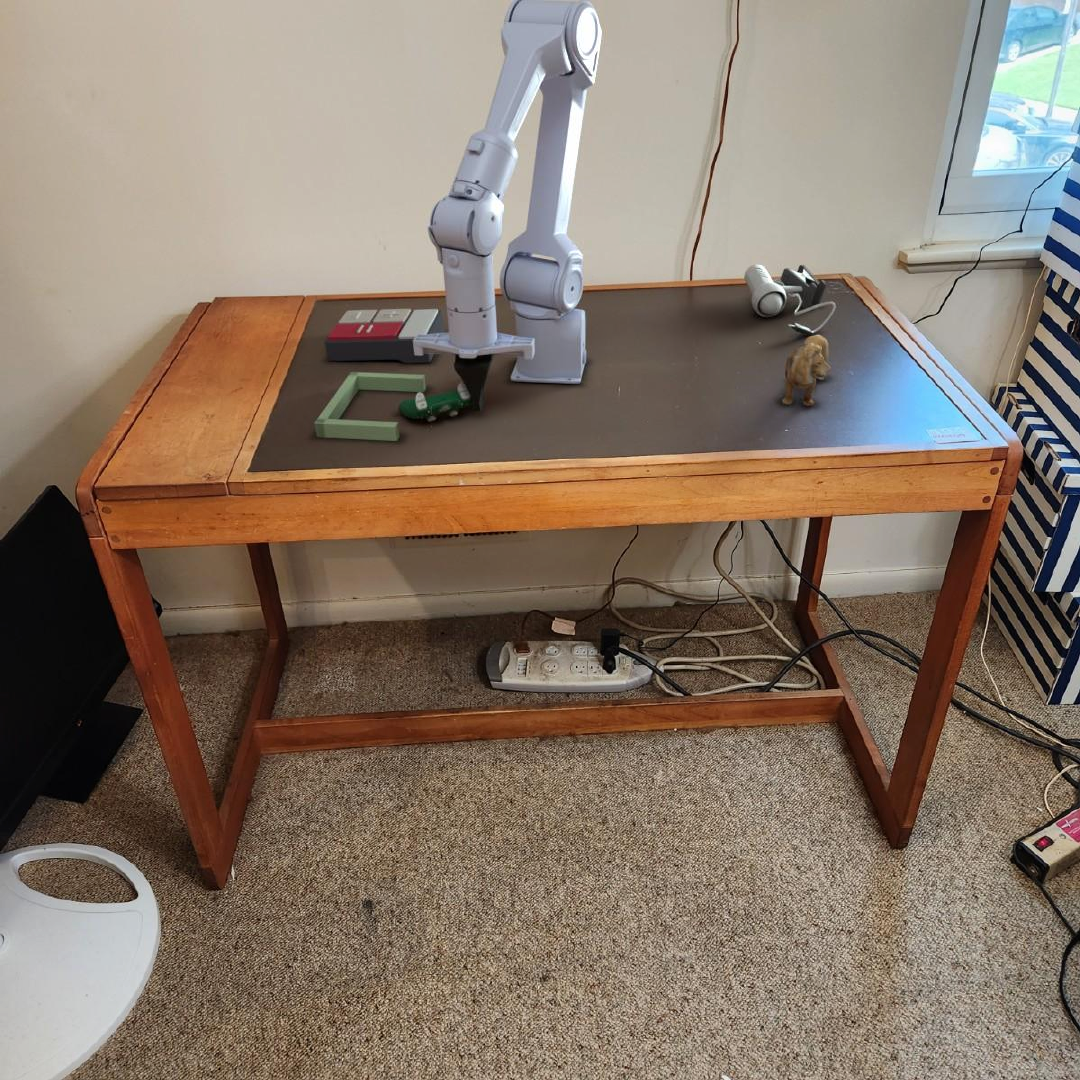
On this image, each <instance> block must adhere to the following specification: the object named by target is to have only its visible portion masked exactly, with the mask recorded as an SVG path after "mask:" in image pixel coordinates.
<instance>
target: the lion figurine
mask: <svg viewBox="0 0 1080 1080" xmlns="http://www.w3.org/2000/svg"><path fill="white" fill-rule="evenodd" d="M828 358H829V342H828V340H827V339H826V338H825V337H823V336H822V335H821V334H816V335H809V336H808V337H807V338H805V340H804V341H803V343H802V344H800V345H797V346H796V347H795V348H794V350H793V351H792V353H790V354H789V356H788V357H787V360H786V363H785V369H784V377H785V397H784V398H782V399H781V402H782V404H783V405H788V406H790V405H791V404H792V403H793V401H794V388H797V389H805V391H804V394H803V396H802V401H803V405H804V406H806V407H812V406H814V404H815V402H814V401H813V392H814V390H815V387H816V384H817V383H816V382H817V381H816V380H817V379H818V380H820V381H824V380H826V379H827V374H828V373H829V371H831V369H832V367H831V366H830V365H829V364H828Z"/></svg>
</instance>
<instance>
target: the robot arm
mask: <svg viewBox="0 0 1080 1080" xmlns="http://www.w3.org/2000/svg"><path fill="white" fill-rule="evenodd" d="M602 31H603V30H602V27H601V24H600V21H599V17H598V13H597V11H596V9H595V8H594V5H593V4H592V3H591V2H590V1H589V0H578V1H574V0H573V1H571V0H513V1H512V2H511V3H510V5H509V6H508V9H507V10H506V13H505V16H504V20H503V26H502V28H501V30H500V39H501V46H502V51H503V54H504V60H503V63H502V67H501V70H500V73H499V76H498V80H497V84H496V87H495V91H494V93H493V97H492V101H491V104H490V108H489V110H488V111H489V112H488V115H487V119H486V122H485V126H484V128H483V129H480V130H478V131H476V132H474V133H472V135H470V137H469V139H468V141H467V145H466V148H465V149H464V153H463V156H462V158H461V161H460V164H459V167H458V169H457V171H456V174H455V176H454V180H453V182H452V185H451V186H450V190H449V192H448V195H445V196H444V197H443V198H442V199H439V200H438V201H437V202H436V203H435V204H434V206H433V208H432V210H431V213H430V217H429V226H428V227H427V232H428V237H429V239H430V241H431V243H432V244H433V246H434V247H435V249H436V253H437V256H436V257H437V261H438V262H439V264H441V265H442V272H443V282H444V292H445V304H446V313H447V314H446V315H447V326H448V331H445V333H436V334H417V335H416V337H415V338H414V340H413V346H414V355H418V356H422V355H424V353H427V354H434V355H454V362H453V368H454V371H455V372H456V374H457V375H458V376H459V378H460V379H461V381H462V383H463V384H464V385H465V386H466V388H467V390H468V392H469V394H470V396H471V399H472V409H473V412H475V413H481V411H482V409H483V407H484V390H485V385H486V381H487V378H488V375H489V371H490V368H491V366H492V363H493V361H494V358H495V357H511V358H512V357H513V358H516V362H515V365H514V368H513V371H512V372H511V375H510V381H511V382H520V383H522V382H523V383H542V384H543V383H546V384H566V385H567V384H570V385H579V384H581V382H582V377H583V373H584V369H585V364H586V363H587V350H586V311H585V309H579V308H576V307H577V306H578V304H579V302H580V301H581V298H582V295H583V290H584V276H583V265H584V264H583V262H584V254H583V253H582V252H581V250H580V249H579V248H578V247H577V245H575V244H574V242H573V241H572V240H571V239H570V237H569V236H568V235H567V233H568V227H569V226H568V225H569V219H570V212H571V205H572V198H573V197H572V196H573V191H574V183H575V176H576V171H577V170H576V169H577V163H578V156H579V149H580V142H581V135H582V127H583V121H584V114H585V108H586V107H585V106H586V99H587V91H588V89H589V88H590V87H592V86H593V85H594V84H595V80H596V75H597V69H598V62H599V57H600V56H599V55H600V49H601V42H602V41H601V40H602ZM538 91H540V92H541V94H542V103H541V110H540V118H539V124H538V125H539V127H538V134H537V141H536V150H535V157H534V166H533V173H532V181H531V189H530V197H529V204H528V205H529V206H528V214H527V221H526V228H525V230H524V231H523V232H522V233H521V234H519V235H518V236H517V237H515V238H514V239H513V240H511V241H510V242H509V243H508V245H507V253H506V257H505V259H504V263H503V264H502V267H501V269H500V274H499V286H500V292H501V295H502V297H503V298H504V299H505V300H506V302H507V301H508V302H509V309H510V310H512V311H514V322H515V335H512V334H507V333H503V332H502V333H501V332H498V329H497V328H498V327H497V311H496V309H497V308H496V295H495V294H496V293H495V292H496V291H495V276H494V274H495V273H494V258H493V252H494V250H495V249H496V248H497V246H498V245H499V241H500V240H501V238H502V233H503V215H504V211H505V209H504V208H505V204H504V203H503V200H504V197H505V195H506V191H507V189H508V186H509V183H510V181H511V178H512V176H513V173H514V170H515V168H516V165H517V162H518V159H519V154H518V151H517V148H516V146H515V139H516V137H517V135H518V133H519V131H520V129H521V127H522V125H523V122H524V121H525V118H526V116H527V114H528V113H529V110H530V107H531V105H532V104H533V101H534V99H535V97H536V95H537V93H538ZM533 255H539V256H543V258H542V257H537V256H533ZM544 256H545V257H548V258H552V259H548V258H544ZM553 259H555V260H553Z"/></svg>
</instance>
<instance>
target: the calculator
mask: <svg viewBox="0 0 1080 1080" xmlns="http://www.w3.org/2000/svg"><path fill="white" fill-rule="evenodd" d="M443 316H444V315H443V311H442V310H440V309H439V310H438V308H432V309H431V308H430V309H429V308H428V309H414V310H411V308H388V309H387V308H386V309H383V308H382V309H380V310H379V311H378V309H357V310H356V309H355V310H354V309H353V310H352V309H351V310H346V311H345V313H344V314H343V316H342V317H341V318H340V319H339V321H338V322H337V324H336V325H335V326H334V327H333V328H332V330H331V332H330V333H329V334H328V336H327V337H326V339H325V340H324V341H323V342H324V348H325V351H326V356H327V360H328V361H329V362H348V361H349V362H351V361H353V362H355V361H395V360H396V361H400V362H401V363H403V364H428V363H431V361H432V360H433V357H434V356H435V354H427V353H424V355H422V356H418V355H414V346H413V340H414V338H415V337H416V335H417V334H436V333H446V331H445V322H444V317H443Z"/></svg>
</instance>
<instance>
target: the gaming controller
mask: <svg viewBox="0 0 1080 1080" xmlns="http://www.w3.org/2000/svg"><path fill="white" fill-rule="evenodd" d="M472 405H473V402H472V399H471V396H470V394H469V392H468V390H467V388H466V386H465V384H464V382H459V383H458V385H457V386H456V388H455V390H453V391H452V390H451V391H447V392H443V393H439V394H435V395H434V394H433V395H431V396H425V395H424V392H416V394H415V397H414V398H411V399H409V398H408V399H405V400H402V401H400V402H399V405H398V411H399V412H400V414H402V415H403V416H404V417H407V418H410V419H419V420H420V419H424V420H427V421H428V422H429V423H430V422H435V421H436V420H437V415H438V414H442V413H446V414H447V415H449V416H450V417H456V416H457V415H459V414H458V412H459V410H460V409H465V408H467V407H470V406H472Z"/></svg>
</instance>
